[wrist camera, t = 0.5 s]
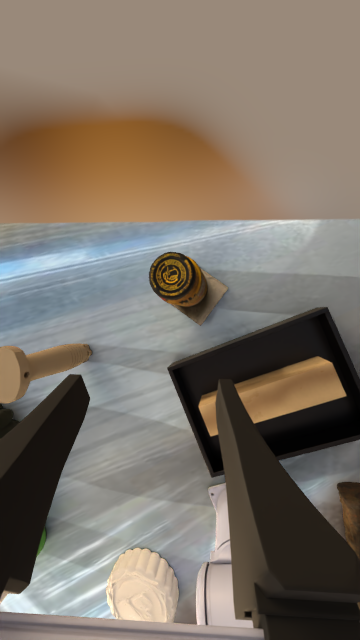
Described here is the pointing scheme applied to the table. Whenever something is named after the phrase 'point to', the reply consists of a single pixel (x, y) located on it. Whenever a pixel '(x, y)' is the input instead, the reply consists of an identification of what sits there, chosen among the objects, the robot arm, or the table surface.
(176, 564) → the table surface
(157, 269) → the condiment
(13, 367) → the handle
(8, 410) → the squash
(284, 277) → the table surface
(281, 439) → the black tray
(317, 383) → the stick
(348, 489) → the hand tool
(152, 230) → the table surface
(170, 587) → the mooncake
